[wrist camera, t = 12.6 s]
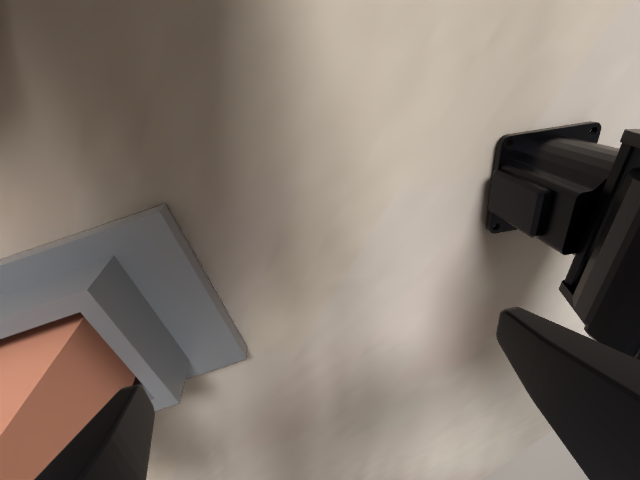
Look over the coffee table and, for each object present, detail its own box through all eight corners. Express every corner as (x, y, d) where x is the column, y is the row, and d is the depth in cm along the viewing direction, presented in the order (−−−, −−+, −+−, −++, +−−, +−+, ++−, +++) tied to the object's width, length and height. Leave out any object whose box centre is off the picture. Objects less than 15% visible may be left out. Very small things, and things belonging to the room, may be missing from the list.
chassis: (152, 181, 18) (117, 217, 14) (254, 358, 25) (252, 419, 21) (-228, 309, 18) (-383, 386, 14) (-20, 451, 25) (-78, 531, 21)
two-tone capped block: (101, 293, 20) (-181, 691, 7) (146, 350, 22) (-5, 722, 10) (20, 320, 20) (-405, 767, 7) (74, 374, 22) (-172, 779, 9)
